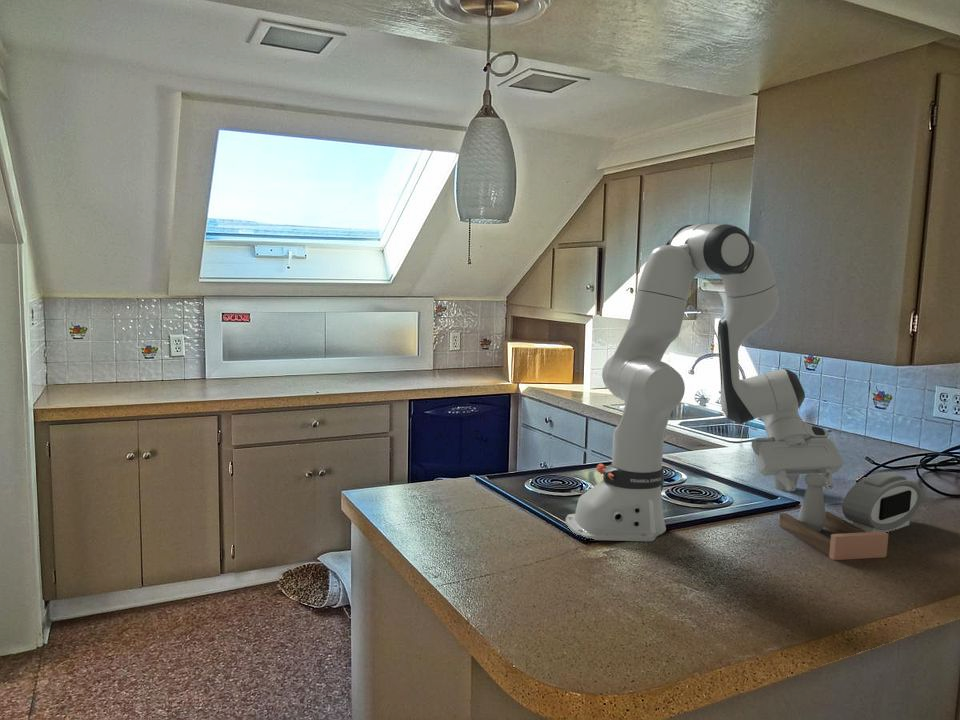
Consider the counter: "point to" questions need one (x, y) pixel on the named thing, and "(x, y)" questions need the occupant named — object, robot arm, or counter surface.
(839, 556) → the block
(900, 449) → the counter surface
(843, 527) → the walnut channel
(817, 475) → the salt shaker
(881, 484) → the alarm clock
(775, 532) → the counter surface
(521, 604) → the counter surface
